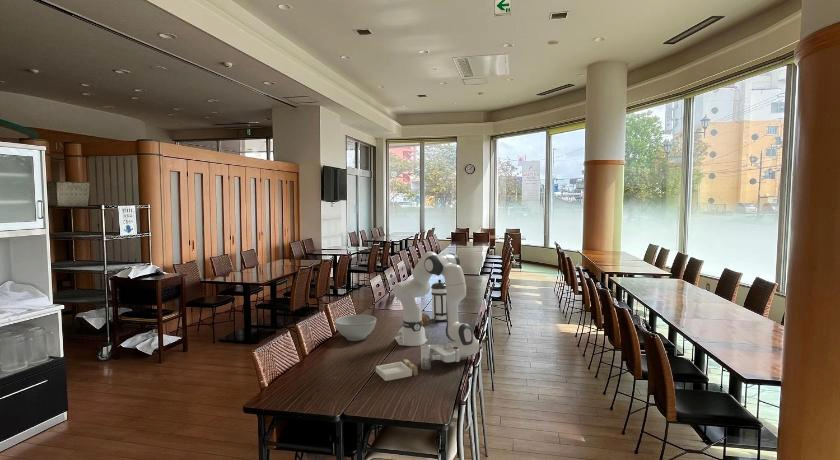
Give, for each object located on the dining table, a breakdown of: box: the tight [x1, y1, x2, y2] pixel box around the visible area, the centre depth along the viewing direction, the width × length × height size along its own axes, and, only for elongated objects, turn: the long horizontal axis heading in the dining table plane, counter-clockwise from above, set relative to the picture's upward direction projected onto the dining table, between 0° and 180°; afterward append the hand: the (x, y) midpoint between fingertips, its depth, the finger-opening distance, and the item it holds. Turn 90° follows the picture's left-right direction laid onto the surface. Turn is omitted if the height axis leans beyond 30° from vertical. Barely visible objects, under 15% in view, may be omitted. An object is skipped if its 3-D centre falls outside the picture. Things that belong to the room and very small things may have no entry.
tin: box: [422, 313, 431, 327], centre depth 324 cm, size 15×3×8 cm, turn 105°
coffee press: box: [430, 279, 447, 323], centre depth 336 cm, size 17×16×30 cm
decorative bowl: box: [334, 314, 377, 342], centre depth 298 cm, size 27×27×12 cm
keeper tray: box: [375, 361, 413, 382], centre depth 233 cm, size 14×14×3 cm
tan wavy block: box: [402, 358, 419, 376], centre depth 236 cm, size 14×2×4 cm, turn 25°
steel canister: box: [420, 343, 432, 371], centre depth 240 cm, size 5×5×12 cm
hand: (427, 355), depth 241 cm, fingers open, 8 cm apart
